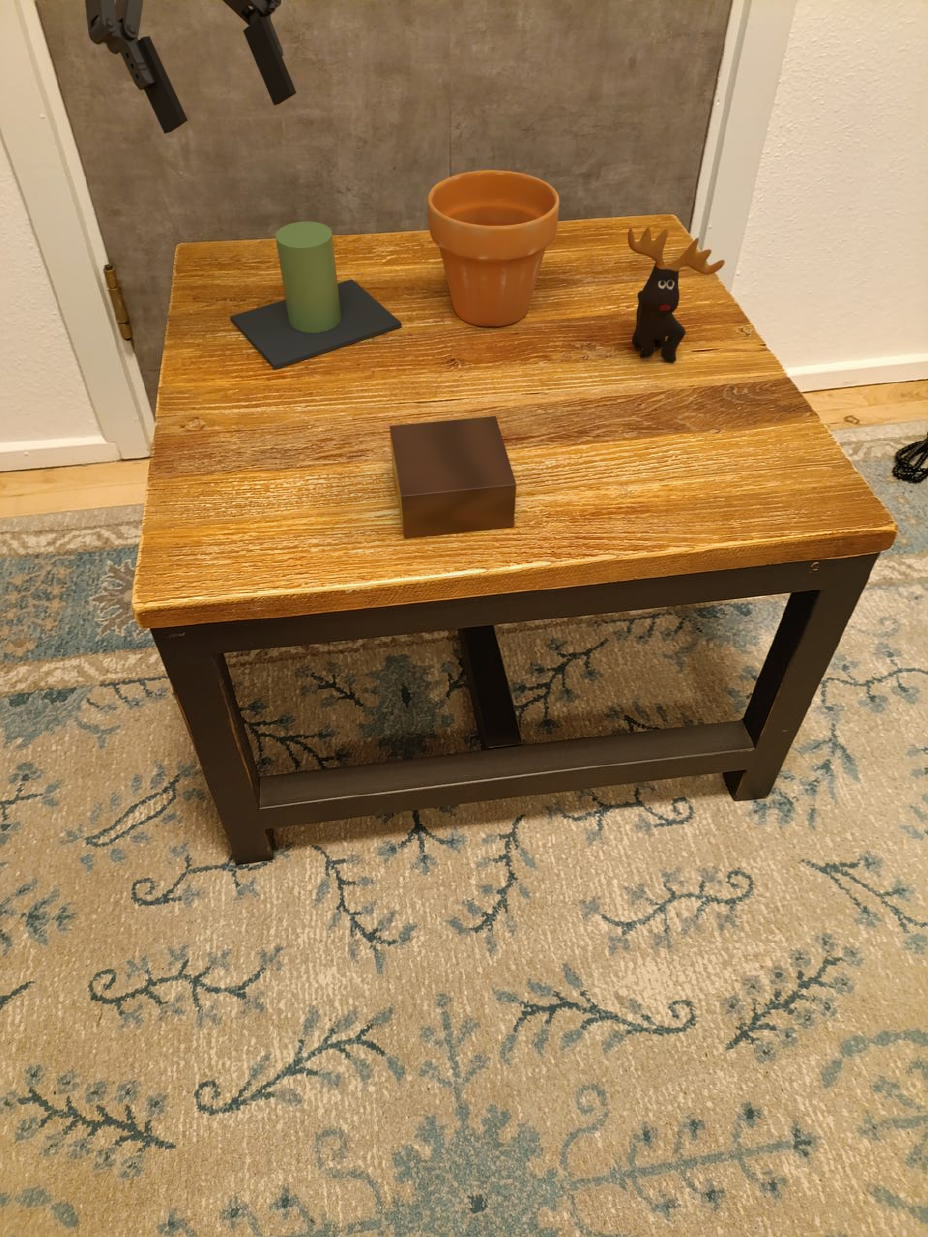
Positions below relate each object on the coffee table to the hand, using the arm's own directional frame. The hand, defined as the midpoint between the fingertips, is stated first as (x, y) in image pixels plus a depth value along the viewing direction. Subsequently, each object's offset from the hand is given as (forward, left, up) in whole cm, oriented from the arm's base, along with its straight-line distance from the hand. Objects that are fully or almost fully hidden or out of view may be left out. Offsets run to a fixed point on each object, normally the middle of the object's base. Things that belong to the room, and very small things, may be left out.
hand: (233, 112), depth 81 cm
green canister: (+6, +3, -24) cm, 25 cm away
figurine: (+35, -23, -25) cm, 49 cm away
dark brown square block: (+3, -31, -25) cm, 40 cm away
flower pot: (+25, -5, -25) cm, 36 cm away
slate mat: (+6, +3, -25) cm, 26 cm away
